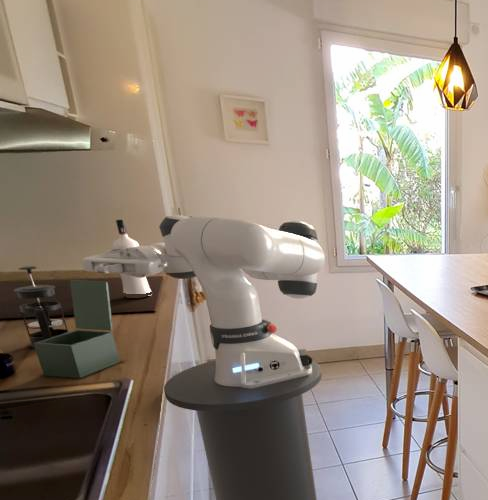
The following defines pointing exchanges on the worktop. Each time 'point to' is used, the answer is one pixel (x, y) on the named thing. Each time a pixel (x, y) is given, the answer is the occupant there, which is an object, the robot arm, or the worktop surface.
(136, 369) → the worktop surface
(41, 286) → the french press
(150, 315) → the worktop surface
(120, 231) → the vodka
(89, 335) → the green box
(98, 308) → the lid
